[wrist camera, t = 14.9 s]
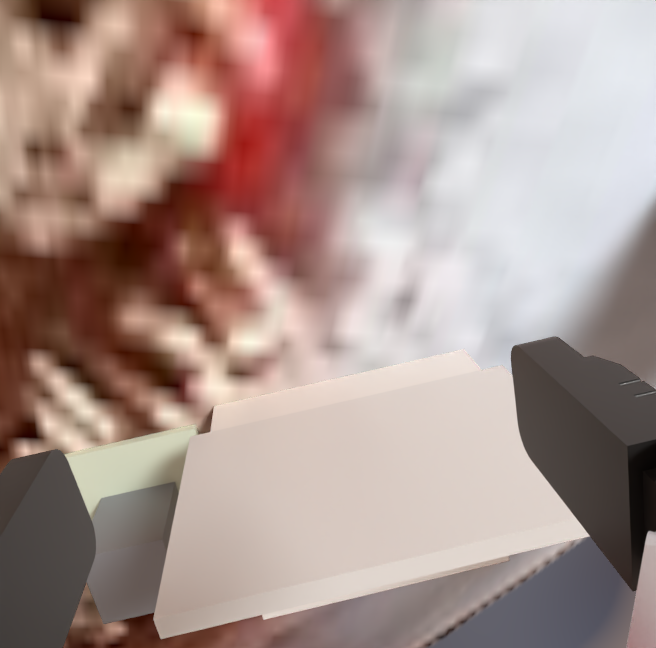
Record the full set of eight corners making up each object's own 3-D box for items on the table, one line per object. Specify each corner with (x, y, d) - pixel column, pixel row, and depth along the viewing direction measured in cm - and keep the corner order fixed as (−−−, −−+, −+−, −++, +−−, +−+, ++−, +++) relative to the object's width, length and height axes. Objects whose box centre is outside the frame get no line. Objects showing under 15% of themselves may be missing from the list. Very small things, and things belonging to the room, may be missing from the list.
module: (174, 481, 42) (162, 539, 37) (194, 541, 44) (184, 605, 38) (101, 497, 42) (77, 558, 36) (123, 557, 44) (103, 624, 38)
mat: (195, 424, 42) (194, 428, 41) (239, 566, 46) (239, 572, 45) (46, 458, 41) (43, 463, 41) (104, 598, 45) (102, 604, 45)
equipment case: (477, 338, 42) (634, 504, 24) (499, 516, 47) (642, 759, 29) (197, 402, 41) (153, 619, 24) (249, 575, 46) (245, 859, 29)
